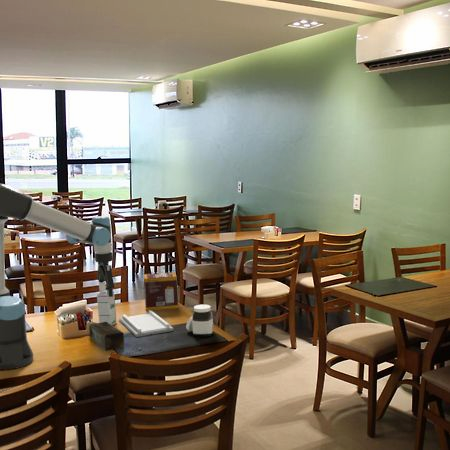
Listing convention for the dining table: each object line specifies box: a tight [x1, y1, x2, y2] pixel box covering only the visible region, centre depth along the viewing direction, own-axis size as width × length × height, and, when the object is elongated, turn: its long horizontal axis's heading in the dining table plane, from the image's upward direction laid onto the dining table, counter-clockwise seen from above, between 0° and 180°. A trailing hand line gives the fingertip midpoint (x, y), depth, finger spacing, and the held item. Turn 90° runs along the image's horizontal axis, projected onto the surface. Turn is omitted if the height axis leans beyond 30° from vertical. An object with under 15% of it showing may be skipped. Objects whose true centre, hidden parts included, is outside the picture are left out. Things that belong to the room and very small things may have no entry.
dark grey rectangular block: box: [88, 322, 125, 351], centre depth 224 cm, size 8×19×7 cm, turn 32°
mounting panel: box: [118, 310, 174, 338], centre depth 244 cm, size 26×16×3 cm, turn 26°
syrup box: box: [96, 290, 117, 326], centre depth 246 cm, size 6×6×14 cm
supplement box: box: [143, 271, 179, 312], centre depth 273 cm, size 10×15×16 cm
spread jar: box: [185, 304, 214, 338], centre depth 231 cm, size 12×11×12 cm
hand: (106, 300), depth 246 cm, fingers open, 13 cm apart
